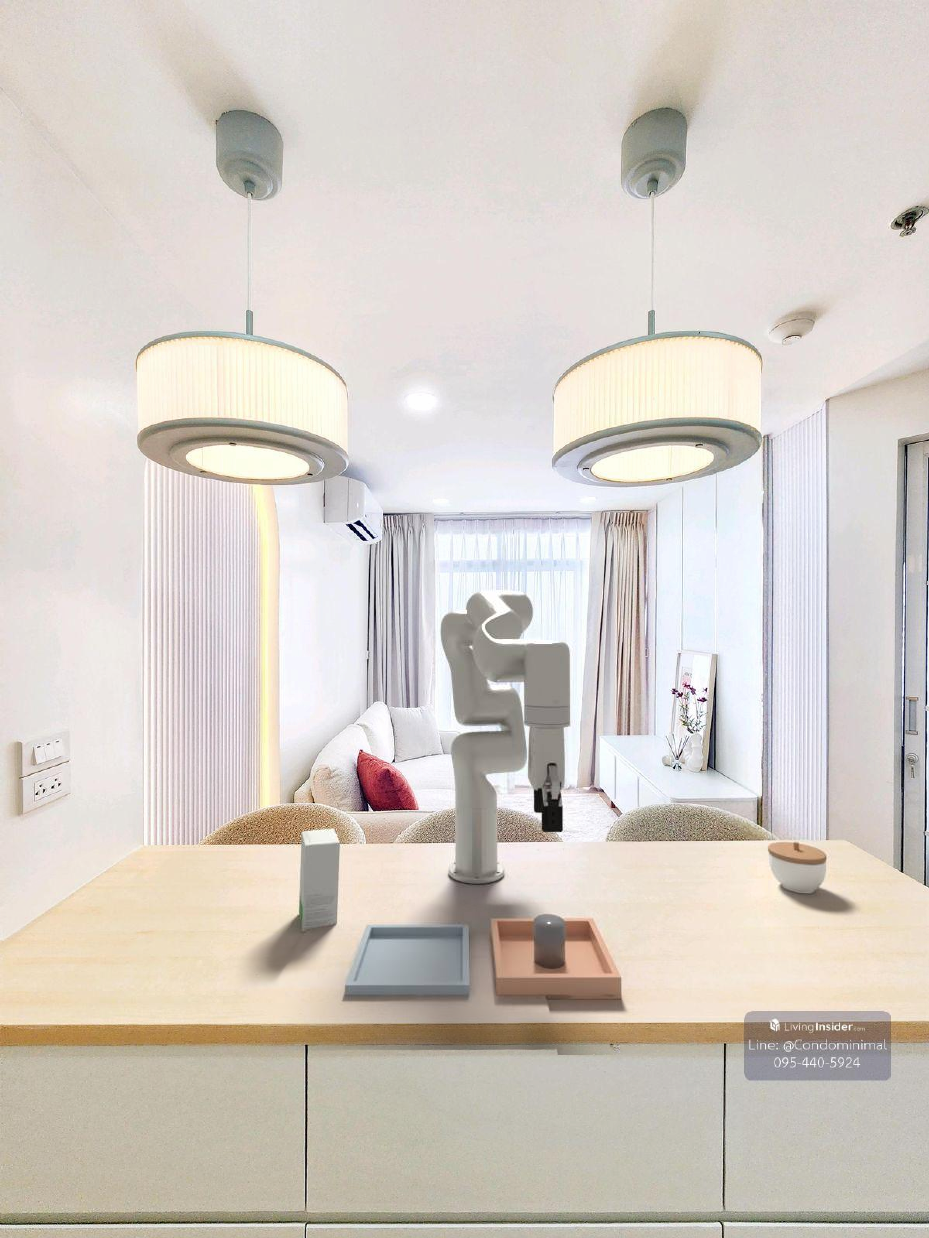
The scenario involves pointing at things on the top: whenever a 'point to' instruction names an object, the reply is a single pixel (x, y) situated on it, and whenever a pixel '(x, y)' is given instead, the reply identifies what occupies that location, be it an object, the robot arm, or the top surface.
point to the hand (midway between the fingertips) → (547, 821)
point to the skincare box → (319, 878)
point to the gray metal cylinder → (549, 941)
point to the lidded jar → (797, 866)
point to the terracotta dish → (577, 979)
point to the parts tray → (411, 961)
